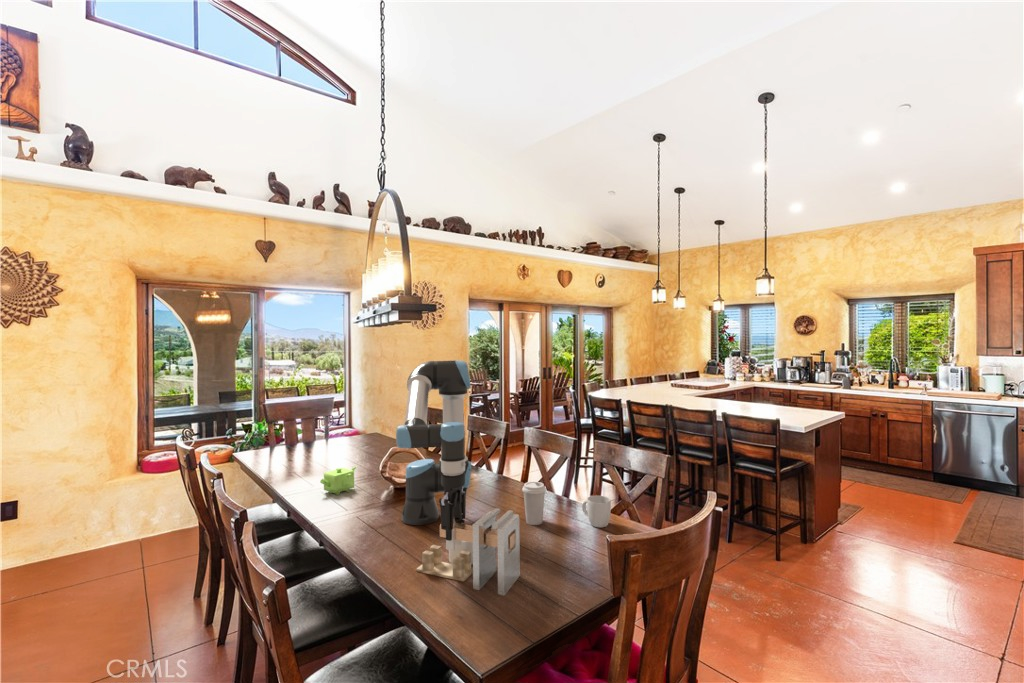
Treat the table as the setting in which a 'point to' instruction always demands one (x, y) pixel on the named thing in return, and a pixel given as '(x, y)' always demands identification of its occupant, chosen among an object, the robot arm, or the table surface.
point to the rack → (446, 564)
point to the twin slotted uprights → (487, 554)
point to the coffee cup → (534, 502)
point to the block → (466, 534)
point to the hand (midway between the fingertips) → (453, 546)
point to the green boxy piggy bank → (338, 480)
